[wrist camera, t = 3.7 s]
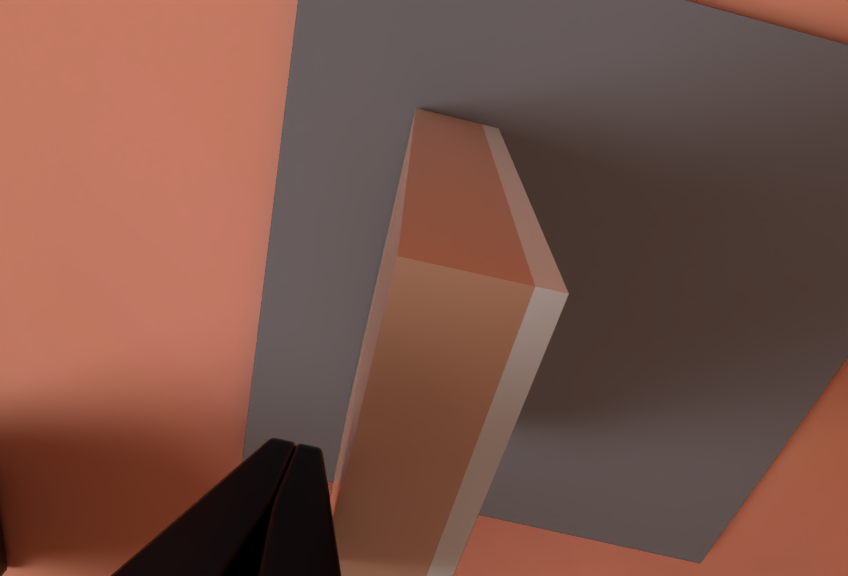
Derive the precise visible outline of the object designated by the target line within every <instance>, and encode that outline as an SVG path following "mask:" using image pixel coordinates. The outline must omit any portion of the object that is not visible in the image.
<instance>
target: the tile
mask: <svg viewBox="0 0 848 576" xmlns="http://www.w3.org/2000/svg"><path fill="white" fill-rule="evenodd" d="M568 295H569V293H568V291H567V288H566V286H565V284H564V281H563V279H562V277H561V274H560V272H559V270H558V267H557V265H556V262H555V260H554V258H553V255H552V253H551V251H550V248H549V246H548V244H547V241H546V239H545V237H544V234H543V232H542V229H541V227H540V225H539V222H538V220H537V218H536V215H535V213H534V211H533V208H532V206H531V204H530V201H529V199H528V196H527V194H526V192H525V189H524V187H523V185H522V182H521V180H520V178H519V175H518V173H517V171H516V168H515V166H514V163H513V161H512V159H511V156H510V154H509V152H508V149H507V147H506V145H505V142H504V140H503V138H502V135H501V133H500V130H499V128H495V127H491V126H487V125H483V124H479V123H475V122H471V121H467V120H463V119H459V118H455V117H450V116H446V115H442V114H438V113H434V112H430V111H426V110H422V109H418V108H415V113H414V117H413V122H412V126H411V131H410V135H409V139H408V144H407V148H406V153H405V157H404V161H403V166H402V170H401V175H400V179H399V184H398V188H397V192H396V197H395V201H394V206H393V210H392V215H391V219H390V223H389V228H388V232H387V237H386V241H385V246H384V250H383V254H382V259H381V263H380V268H379V272H378V277H377V281H376V285H375V290H374V294H373V299H372V303H371V308H370V312H369V316H368V321H367V325H366V330H365V334H364V339H363V343H362V347H361V352H360V356H359V361H358V365H357V369H356V374H355V378H354V383H353V387H352V392H351V396H350V400H349V405H348V410H347V415H346V421H345V426H344V431H343V436H342V441H341V446H340V452H339V457H338V462H337V467H336V472H335V477H334V483H333V488H332V493H331V498H330V503H331V509H332V516H333V523H334V529H335V536H336V543H337V549H338V556H339V563H340V569H341V576H453V575H454V573H455V570H456V568H457V566H458V563H459V561H460V558H461V556H462V553H463V551H464V548H465V546H466V544H467V541H468V539H469V536H470V534H471V531H472V529H473V527H474V524H475V522H476V519H477V517H478V514H479V512H480V509H481V507H482V505H483V502H484V500H485V497H486V495H487V492H488V490H489V487H490V485H491V483H492V480H493V478H494V475H495V473H496V470H497V468H498V465H499V463H500V461H501V458H502V456H503V453H504V451H505V448H506V446H507V444H508V441H509V439H510V436H511V434H512V431H513V429H514V426H515V424H516V422H517V419H518V417H519V414H520V412H521V409H522V407H523V404H524V402H525V400H526V397H527V395H528V392H529V390H530V387H531V385H532V382H533V380H534V378H535V375H536V373H537V370H538V368H539V365H540V363H541V361H542V358H543V356H544V353H545V351H546V348H547V346H548V343H549V341H550V339H551V336H552V334H553V331H554V329H555V326H556V324H557V321H558V319H559V317H560V314H561V312H562V309H563V307H564V304H565V302H566V300H567V297H568Z"/></svg>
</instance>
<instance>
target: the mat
mask: <svg viewBox="0 0 848 576" xmlns="http://www.w3.org/2000/svg"><path fill="white" fill-rule="evenodd" d="M415 108H418V109H422V110H426V111H430V112H434V113H438V114H442V115H446V116H450V117H455V118H459V119H463V120H467V121H471V122H475V123H479V124H483V125H487V126H491V127H495V128H499V130H500V133H501V135H502V138H503V140H504V142H505V145H506V147H507V149H508V152H509V154H510V156H511V159H512V161H513V163H514V166H515V168H516V171H517V173H518V175H519V178H520V180H521V182H522V185H523V187H524V189H525V192H526V194H527V196H528V199H529V201H530V204H531V206H532V208H533V211H534V213H535V215H536V218H537V220H538V222H539V225H540V227H541V229H542V232H543V234H544V237H545V239H546V241H547V244H548V246H549V248H550V251H551V253H552V255H553V258H554V260H555V262H556V265H557V267H558V270H559V272H560V274H561V277H562V279H563V281H564V284H565V286H566V288H567V291H568V293H569V295H568V297H567V300H566V302H565V304H564V307H563V309H562V312H561V314H560V317H559V319H558V321H557V324H556V326H555V329H554V331H553V334H552V336H551V339H550V341H549V343H548V346H547V348H546V351H545V353H544V356H543V358H542V361H541V363H540V365H539V368H538V370H537V373H536V375H535V378H534V380H533V382H532V385H531V387H530V390H529V392H528V395H527V397H526V400H525V402H524V404H523V407H522V409H521V412H520V414H519V417H518V419H517V422H516V424H515V426H514V429H513V431H512V434H511V436H510V439H509V441H508V444H507V446H506V448H505V451H504V453H503V456H502V458H501V461H500V463H499V465H498V468H497V470H496V473H495V475H494V478H493V480H492V483H491V485H490V487H489V490H488V492H487V495H486V497H485V500H484V502H483V505H482V507H481V509H480V512H479V514H478V515H482V516H487V517H491V518H496V519H500V520H505V521H509V522H514V523H519V524H523V525H528V526H532V527H537V528H541V529H546V530H550V531H555V532H559V533H564V534H568V535H573V536H578V537H582V538H587V539H591V540H596V541H600V542H605V543H609V544H614V545H618V546H623V547H627V548H632V549H636V550H641V551H646V552H650V553H655V554H659V555H664V556H668V557H673V558H677V559H682V560H686V561H691V562H695V563H701V562H702V560H703V559H704V558H705V556H706V555H707V553H708V552H709V551H710V549H711V548H712V546H713V545H714V544H715V542H716V541H717V539H718V538H719V537H720V535H721V534H722V532H723V531H724V530H725V528H726V527H727V525H728V524H729V523H730V521H731V520H732V518H733V517H734V516H735V514H736V513H737V511H738V510H739V509H740V507H741V506H742V504H743V503H744V502H745V500H746V499H747V498H748V496H749V495H750V493H751V492H752V491H753V489H754V488H755V486H756V485H757V484H758V482H759V481H760V479H761V478H762V477H763V475H764V474H765V472H766V471H767V470H768V468H769V467H770V465H771V464H772V463H773V461H774V460H775V458H776V457H777V456H778V454H779V453H780V451H781V450H782V449H783V447H784V446H785V444H786V443H787V442H788V440H789V439H790V437H791V436H792V435H793V433H794V432H795V430H796V429H797V428H798V426H799V425H800V423H801V422H802V421H803V419H804V418H805V416H806V415H807V414H808V412H809V411H810V409H811V408H812V407H813V405H814V404H815V402H816V401H817V400H818V398H819V397H820V395H821V394H822V393H823V391H824V390H825V388H826V387H827V386H828V384H829V383H830V381H831V380H832V379H833V377H834V376H835V374H836V373H837V372H838V370H839V369H840V367H841V366H842V365H843V363H844V362H845V360H846V359H847V358H848V45H846V44H843V43H839V42H835V41H832V40H828V39H824V38H821V37H817V36H814V35H810V34H806V33H803V32H799V31H795V30H792V29H788V28H785V27H781V26H777V25H774V24H770V23H766V22H763V21H759V20H756V19H752V18H748V17H745V16H741V15H737V14H734V13H730V12H727V11H723V10H719V9H716V8H712V7H708V6H705V5H701V4H698V3H694V2H690V1H687V0H298V5H297V13H296V22H295V30H294V38H293V46H292V55H291V63H290V71H289V79H288V87H287V96H286V104H285V112H284V120H283V129H282V137H281V145H280V153H279V162H278V170H277V178H276V186H275V195H274V203H273V211H272V219H271V228H270V236H269V244H268V252H267V260H266V269H265V277H264V285H263V293H262V302H261V310H260V318H259V326H258V335H257V343H256V351H255V359H254V368H253V376H252V384H251V392H250V401H249V409H248V417H247V425H246V434H245V442H244V450H243V458H242V462H243V461H244V460H245V459H247V458H248V457H249V456H250V455H251V454H252V453H254V452H255V451H256V450H257V449H258V448H259V447H261V446H262V445H263V444H264V443H265V442H266V441H268V440H269V439H270V438H279V439H284V440H288V441H293V442H294V443H295V444H296V445H297V444H300V443H302V444H306V445H311V446H315V447H319V448H321V449H322V451H323V456H324V463H325V470H326V476H327V481H328V482H333V483H334V477H335V472H336V467H337V462H338V457H339V452H340V446H341V441H342V436H343V431H344V426H345V421H346V415H347V410H348V405H349V400H350V396H351V392H352V387H353V383H354V378H355V374H356V369H357V365H358V361H359V356H360V352H361V347H362V343H363V339H364V334H365V330H366V325H367V321H368V316H369V312H370V308H371V303H372V299H373V294H374V290H375V285H376V281H377V277H378V272H379V268H380V263H381V259H382V254H383V250H384V246H385V241H386V237H387V232H388V228H389V223H390V219H391V215H392V210H393V206H394V201H395V197H396V192H397V188H398V184H399V179H400V175H401V170H402V166H403V161H404V157H405V153H406V148H407V144H408V139H409V135H410V131H411V126H412V122H413V117H414V113H415Z"/></svg>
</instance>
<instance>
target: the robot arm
mask: <svg viewBox="0 0 848 576" xmlns="http://www.w3.org/2000/svg"><path fill="white" fill-rule="evenodd" d="M6 570H7V562H6V556H5V550H4V544H3V537H2V531H1V525H0V576H2V575H3V574H4V572H5V571H6ZM111 576H341V569H340V563H339V556H338V549H337V543H336V536H335V529H334V523H333V516H332V509H331V503H330V496H329V490H328V483H327V476H326V470H325V463H324V456H323V451H322V449H321V448H319V447H315V446H311V445H306V444H302V443H300V444H297V445H296V444H295V443H294V442H293V441H288V440H284V439H279V438H270V439H269V440H268V441H266V442H265V443H264V444H263V445H262V446H261V447H259V448H258V449H257V450H256V451H255V452H254V453H252V454H251V455H250V456H249V457H248V458H247V459H245V460H244V461H243V462H242V463H241V464H240V465H239V466H237V467H236V468H235V469H234V470H233V471H232V472H230V473H229V474H228V475H227V476H226V477H225V478H223V479H222V480H221V481H220V482H219V483H218V484H216V485H215V486H214V487H213V488H212V489H211V490H210V491H208V492H207V493H206V494H205V495H204V496H203V497H201V498H200V499H199V500H198V501H197V502H196V503H194V504H193V505H192V506H191V507H190V508H189V509H188V510H186V511H185V512H184V513H183V514H182V515H181V516H179V517H178V518H177V519H176V520H175V521H174V522H172V523H171V524H170V525H169V526H168V527H167V528H166V529H164V530H163V531H162V532H161V533H160V534H159V535H157V536H156V537H155V538H154V539H153V540H152V541H150V542H149V543H148V544H147V545H146V546H145V547H143V548H142V549H141V550H140V551H139V552H138V553H137V554H135V555H134V556H133V557H132V558H131V559H130V560H128V561H127V562H126V563H125V564H124V565H123V566H121V567H120V568H119V569H118V570H117V571H116V572H115V573H113V574H112V575H111Z"/></svg>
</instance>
